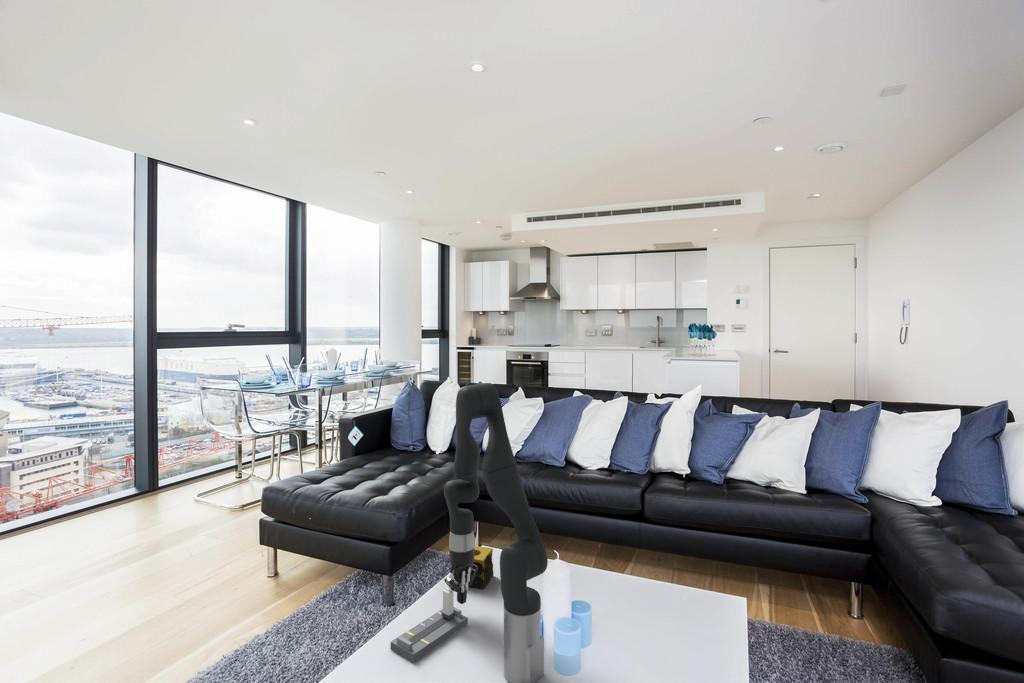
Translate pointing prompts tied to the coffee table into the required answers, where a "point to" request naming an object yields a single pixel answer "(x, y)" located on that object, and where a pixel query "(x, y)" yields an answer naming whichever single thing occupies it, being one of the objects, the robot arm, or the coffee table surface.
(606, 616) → the coffee table surface
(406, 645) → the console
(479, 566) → the candle
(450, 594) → the fader
